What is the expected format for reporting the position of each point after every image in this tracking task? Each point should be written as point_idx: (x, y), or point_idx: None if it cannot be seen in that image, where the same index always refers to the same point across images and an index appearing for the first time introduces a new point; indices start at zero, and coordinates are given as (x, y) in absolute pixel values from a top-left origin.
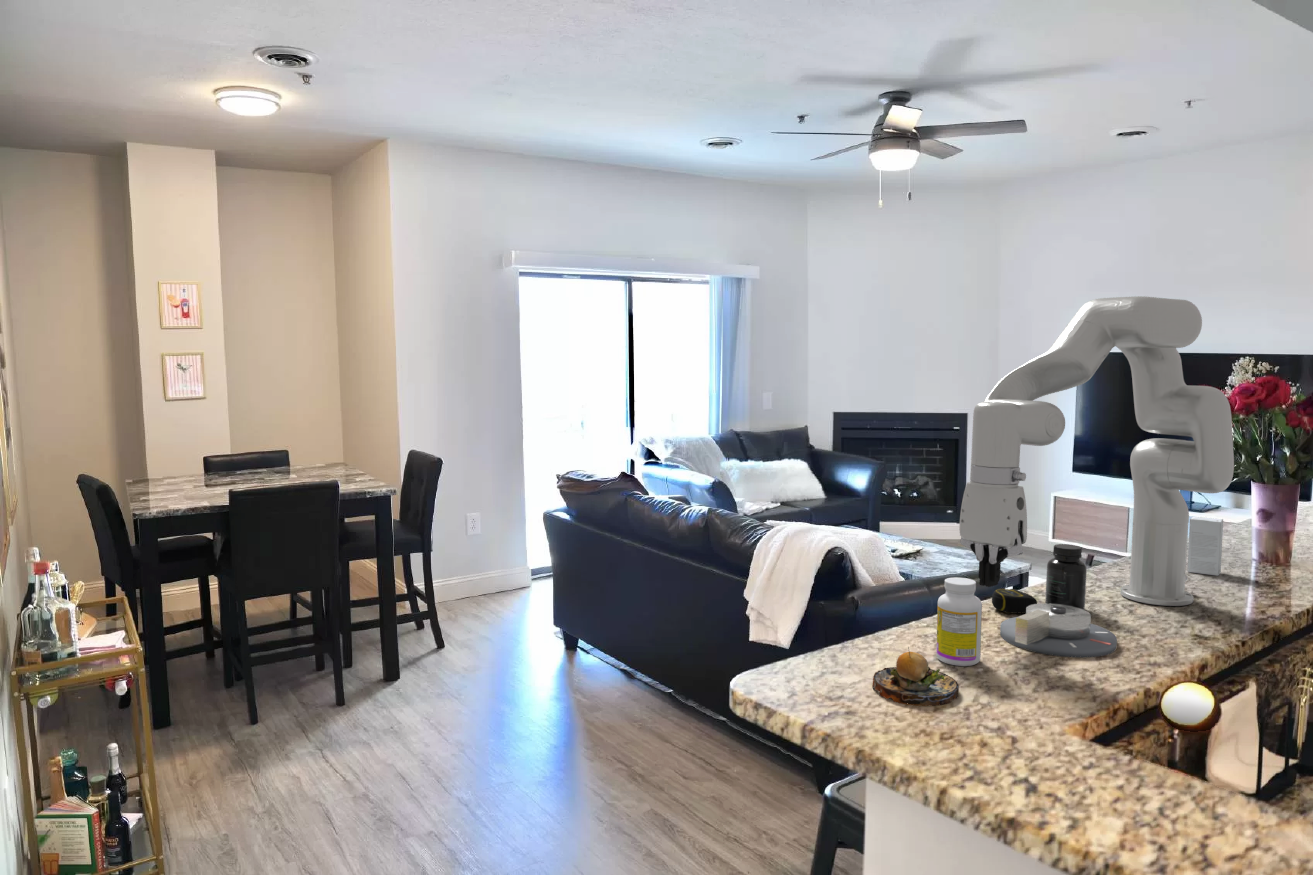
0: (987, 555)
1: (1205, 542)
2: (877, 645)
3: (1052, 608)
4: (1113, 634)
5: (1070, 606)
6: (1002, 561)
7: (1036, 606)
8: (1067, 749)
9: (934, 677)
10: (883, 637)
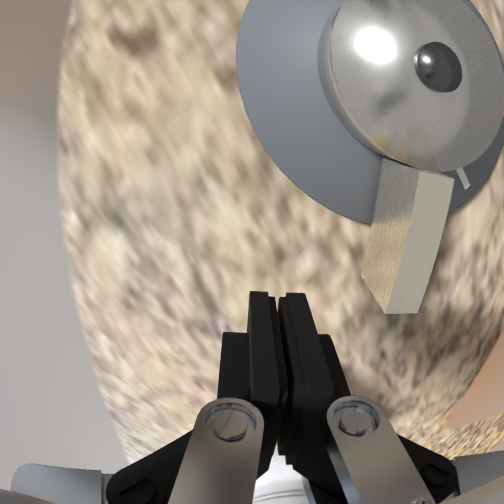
0: (258, 464)
1: None
2: (130, 390)
3: (431, 79)
4: (488, 28)
5: None
6: (366, 405)
7: (357, 39)
8: (441, 442)
9: None
10: (100, 354)
